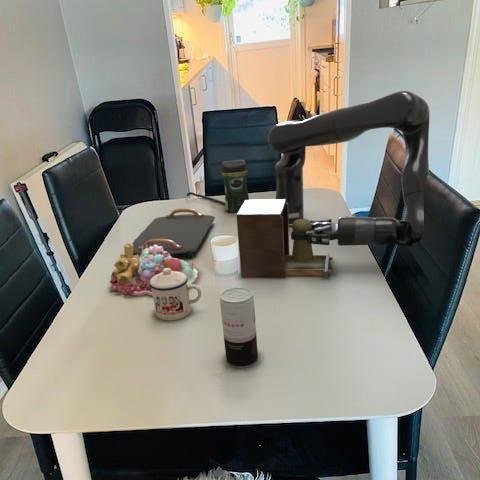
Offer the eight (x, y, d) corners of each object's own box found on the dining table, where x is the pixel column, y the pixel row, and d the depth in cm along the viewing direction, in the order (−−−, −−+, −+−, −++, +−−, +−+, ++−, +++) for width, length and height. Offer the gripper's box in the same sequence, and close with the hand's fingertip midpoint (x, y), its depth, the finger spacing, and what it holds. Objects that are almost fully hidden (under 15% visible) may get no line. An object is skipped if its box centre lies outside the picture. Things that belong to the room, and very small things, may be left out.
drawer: (332, 258, 143) (332, 253, 142) (331, 277, 132) (331, 271, 131) (284, 258, 146) (284, 253, 145) (279, 276, 135) (278, 271, 134)
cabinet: (289, 259, 146) (287, 199, 137) (284, 278, 135) (282, 213, 126) (249, 259, 148) (245, 199, 140) (241, 277, 137) (236, 214, 129)
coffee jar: (248, 205, 197) (245, 157, 188) (251, 211, 190) (247, 161, 181) (224, 207, 196) (219, 159, 187) (226, 213, 189) (221, 164, 180)
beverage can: (235, 348, 106) (229, 285, 99) (263, 354, 103) (259, 289, 96) (220, 364, 101) (212, 299, 94) (249, 371, 98) (243, 304, 91)
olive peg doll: (313, 253, 140) (312, 216, 135) (313, 262, 135) (313, 223, 130) (291, 254, 141) (290, 217, 136) (291, 263, 136) (290, 224, 131)
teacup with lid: (151, 322, 119) (143, 278, 113) (159, 304, 127) (151, 262, 121) (201, 320, 118) (195, 275, 112) (205, 302, 126) (200, 260, 120)
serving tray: (194, 262, 149) (192, 243, 146) (122, 263, 153) (118, 244, 150) (218, 220, 183) (216, 204, 180) (158, 222, 186) (155, 206, 183)
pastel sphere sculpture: (100, 300, 132) (92, 268, 127) (121, 265, 152) (115, 236, 148) (193, 295, 130) (189, 262, 126) (202, 260, 151) (198, 231, 146)
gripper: (356, 208, 136) (294, 210, 139) (356, 226, 124) (288, 227, 127) (355, 234, 139) (295, 235, 143) (355, 254, 127) (289, 254, 131)
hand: (292, 231), depth 135 cm, fingers closed on olive peg doll, 5 cm apart
